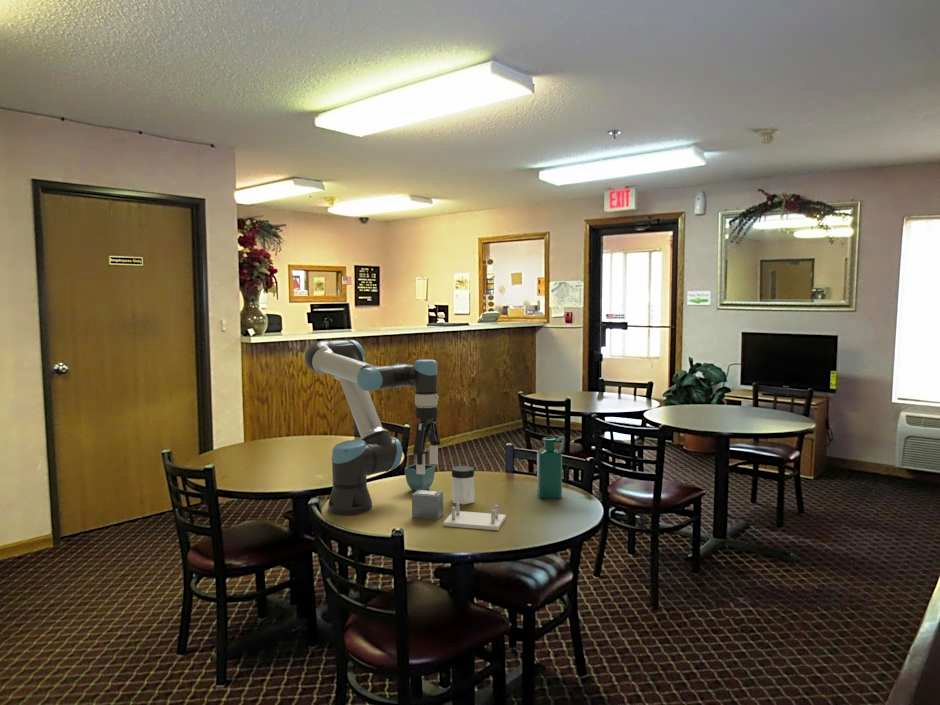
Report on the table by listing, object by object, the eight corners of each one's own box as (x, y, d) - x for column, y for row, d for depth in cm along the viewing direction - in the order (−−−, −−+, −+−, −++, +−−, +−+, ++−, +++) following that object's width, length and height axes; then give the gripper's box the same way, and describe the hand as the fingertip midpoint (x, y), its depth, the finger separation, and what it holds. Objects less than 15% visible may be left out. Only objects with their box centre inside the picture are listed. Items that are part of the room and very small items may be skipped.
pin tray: (443, 525, 207) (443, 510, 207) (453, 514, 219) (453, 499, 219) (497, 530, 203) (497, 514, 202) (505, 518, 214) (505, 502, 214)
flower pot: (422, 494, 242) (422, 470, 242) (404, 491, 247) (403, 467, 246) (436, 488, 250) (435, 465, 249) (417, 485, 255) (417, 463, 254)
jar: (458, 506, 228) (458, 472, 227) (446, 500, 235) (446, 468, 234) (479, 501, 233) (479, 469, 232) (467, 496, 240) (467, 464, 239)
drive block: (412, 518, 216) (411, 494, 215) (418, 512, 221) (417, 489, 221) (437, 520, 213) (437, 496, 213) (443, 514, 219) (443, 490, 218)
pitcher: (539, 499, 235) (539, 439, 233) (536, 492, 243) (536, 435, 242) (566, 498, 235) (566, 439, 234) (562, 492, 244) (562, 434, 242)
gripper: (425, 412, 202) (426, 479, 203) (448, 401, 226) (449, 460, 227) (402, 411, 204) (403, 477, 205) (427, 400, 228) (428, 459, 229)
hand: (427, 469), depth 216 cm, fingers open, 13 cm apart
